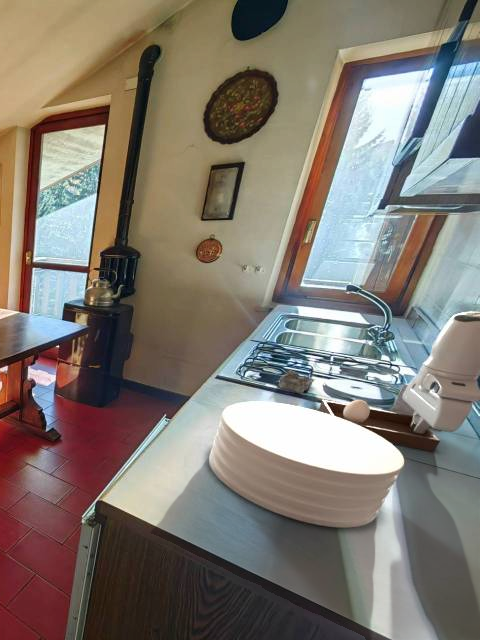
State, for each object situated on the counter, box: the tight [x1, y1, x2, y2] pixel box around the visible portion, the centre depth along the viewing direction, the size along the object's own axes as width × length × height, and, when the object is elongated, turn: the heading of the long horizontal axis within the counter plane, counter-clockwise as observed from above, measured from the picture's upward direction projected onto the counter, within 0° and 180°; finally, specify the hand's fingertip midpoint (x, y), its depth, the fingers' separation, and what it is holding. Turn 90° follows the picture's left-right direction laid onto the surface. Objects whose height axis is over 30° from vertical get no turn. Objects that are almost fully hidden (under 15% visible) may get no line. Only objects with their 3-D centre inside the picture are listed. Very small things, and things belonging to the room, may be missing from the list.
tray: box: [318, 399, 441, 452], centre depth 102 cm, size 19×14×3 cm
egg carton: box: [277, 369, 316, 393], centre depth 127 cm, size 11×8×4 cm
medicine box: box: [390, 382, 415, 416], centre depth 110 cm, size 8×4×9 cm, turn 114°
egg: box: [343, 399, 370, 424], centre depth 103 cm, size 5×5×7 cm
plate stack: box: [208, 401, 405, 529], centre depth 80 cm, size 28×28×12 cm
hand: (416, 430), depth 98 cm, fingers closed, pressing on tray
